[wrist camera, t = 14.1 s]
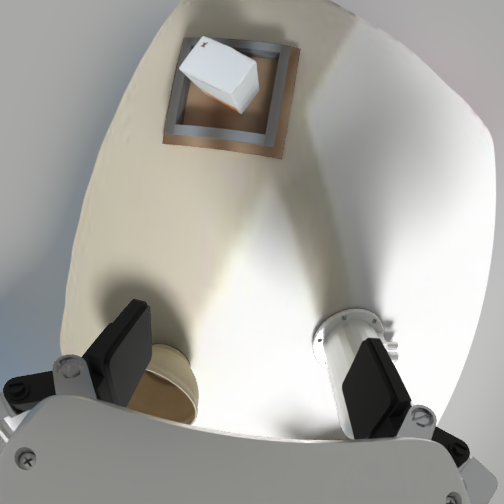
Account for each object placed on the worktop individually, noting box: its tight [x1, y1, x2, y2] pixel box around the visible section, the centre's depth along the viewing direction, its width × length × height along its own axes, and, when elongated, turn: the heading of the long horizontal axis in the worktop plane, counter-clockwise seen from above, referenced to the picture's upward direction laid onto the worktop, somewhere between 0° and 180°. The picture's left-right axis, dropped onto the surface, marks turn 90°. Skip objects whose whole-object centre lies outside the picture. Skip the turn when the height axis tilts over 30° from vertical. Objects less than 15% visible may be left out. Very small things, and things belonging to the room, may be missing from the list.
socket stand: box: [162, 38, 300, 159], centre depth 31 cm, size 16×16×4 cm
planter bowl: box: [126, 344, 198, 425], centre depth 43 cm, size 16×16×11 cm
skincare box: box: [179, 36, 259, 114], centre depth 26 cm, size 6×4×12 cm
